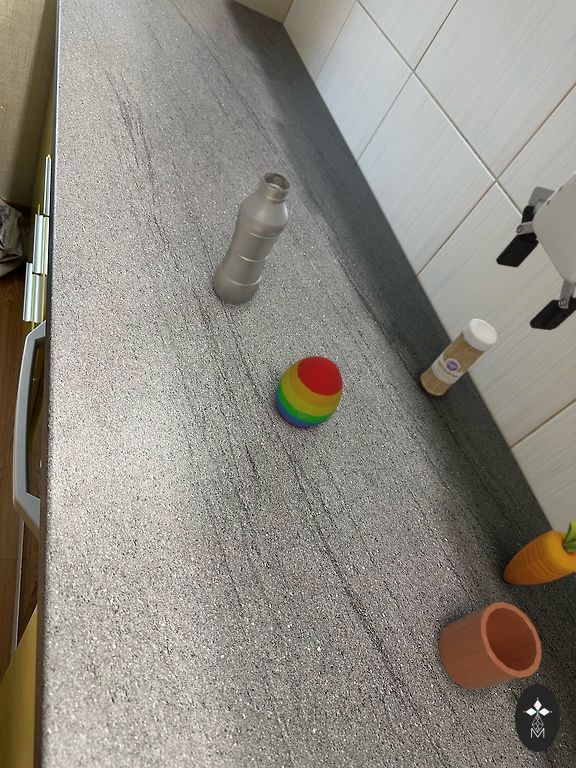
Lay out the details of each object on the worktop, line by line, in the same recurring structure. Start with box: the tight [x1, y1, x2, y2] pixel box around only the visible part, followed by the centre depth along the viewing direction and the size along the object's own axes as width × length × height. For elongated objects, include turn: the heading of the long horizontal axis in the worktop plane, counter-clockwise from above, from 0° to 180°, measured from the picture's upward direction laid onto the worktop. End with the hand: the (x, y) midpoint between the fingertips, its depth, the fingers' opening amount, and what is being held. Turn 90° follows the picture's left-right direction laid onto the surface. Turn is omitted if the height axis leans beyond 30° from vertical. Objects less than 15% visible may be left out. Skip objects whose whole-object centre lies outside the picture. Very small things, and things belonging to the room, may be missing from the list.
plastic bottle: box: [212, 171, 292, 304], centre depth 78 cm, size 6×7×20 cm
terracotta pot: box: [438, 601, 543, 691], centre depth 62 cm, size 7×7×8 cm
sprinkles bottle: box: [420, 318, 498, 397], centre depth 84 cm, size 5×5×14 cm
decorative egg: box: [275, 355, 344, 428], centre depth 73 cm, size 8×8×10 cm
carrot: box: [502, 520, 576, 586], centre depth 67 cm, size 5×5×15 cm
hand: (522, 294), depth 66 cm, fingers open, 9 cm apart
